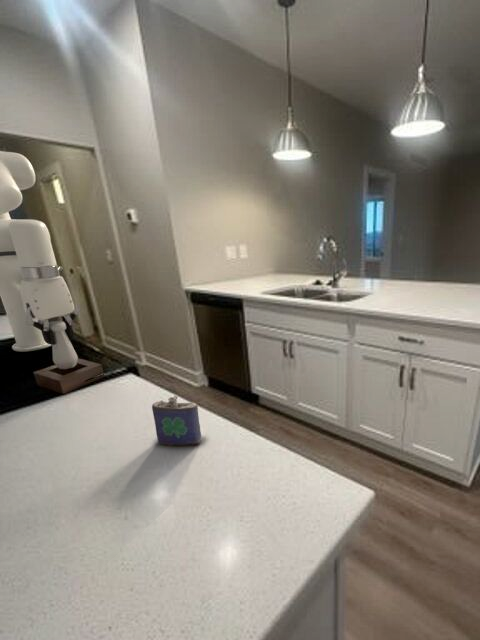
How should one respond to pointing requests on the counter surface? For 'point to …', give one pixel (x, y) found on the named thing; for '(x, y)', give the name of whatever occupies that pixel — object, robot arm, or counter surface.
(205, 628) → the counter surface
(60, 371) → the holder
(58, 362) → the salt shaker
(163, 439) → the flask
